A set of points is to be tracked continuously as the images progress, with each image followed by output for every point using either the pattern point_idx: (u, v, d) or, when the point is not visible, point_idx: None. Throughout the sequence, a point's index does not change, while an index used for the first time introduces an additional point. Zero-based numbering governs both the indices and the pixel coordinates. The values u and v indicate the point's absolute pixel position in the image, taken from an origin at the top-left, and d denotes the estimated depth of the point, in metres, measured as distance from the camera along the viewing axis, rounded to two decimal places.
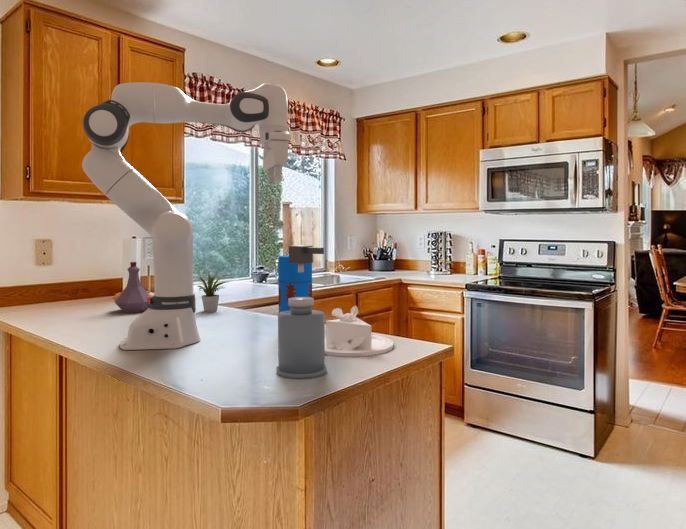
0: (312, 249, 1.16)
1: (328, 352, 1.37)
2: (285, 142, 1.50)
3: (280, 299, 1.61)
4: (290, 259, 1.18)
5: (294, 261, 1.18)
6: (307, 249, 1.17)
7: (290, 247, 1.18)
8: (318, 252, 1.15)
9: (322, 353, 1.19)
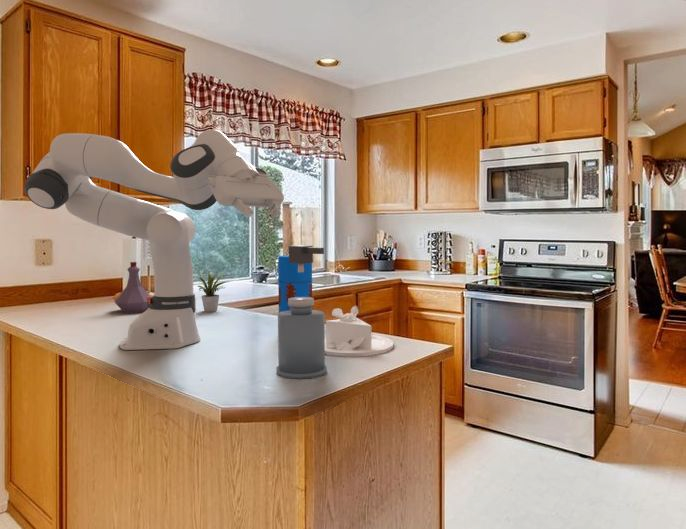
0: (312, 249, 1.16)
1: (328, 352, 1.37)
2: None
3: (280, 299, 1.61)
4: (290, 259, 1.18)
5: (294, 261, 1.18)
6: (307, 249, 1.17)
7: (290, 247, 1.18)
8: (318, 252, 1.15)
9: (322, 353, 1.19)
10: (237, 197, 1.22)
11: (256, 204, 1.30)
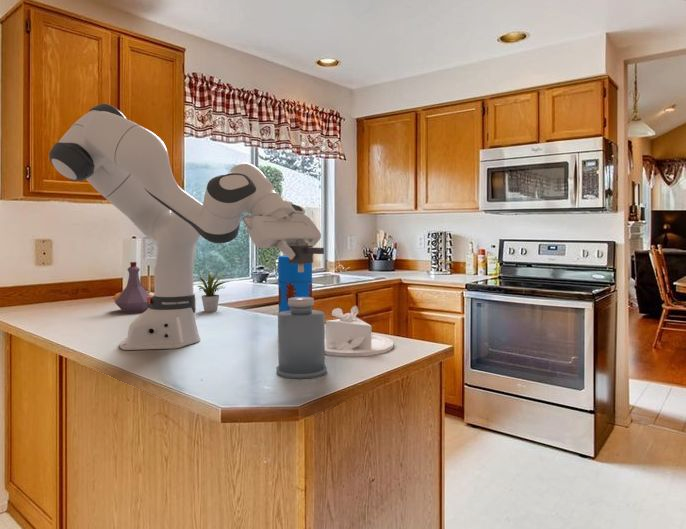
0: (312, 249, 1.16)
1: (328, 352, 1.37)
2: None
3: (280, 299, 1.61)
4: None
5: (294, 261, 1.18)
6: (307, 249, 1.17)
7: (290, 247, 1.18)
8: (318, 252, 1.15)
9: (322, 353, 1.19)
10: (275, 239, 1.15)
11: (293, 244, 1.22)
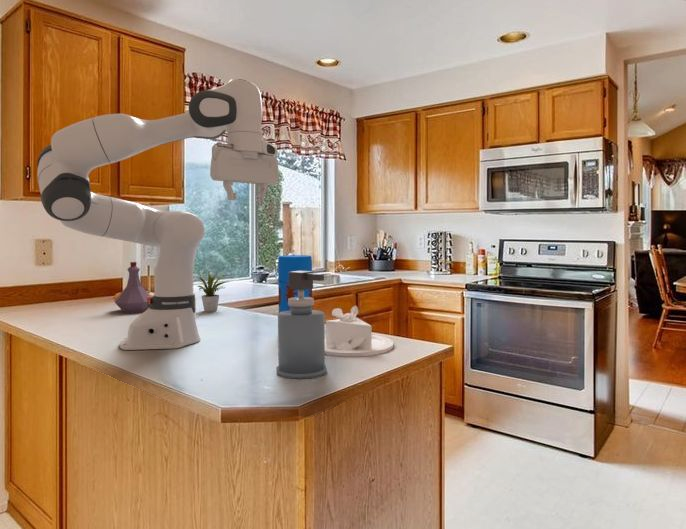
0: (312, 276, 1.16)
1: (328, 352, 1.37)
2: None
3: (280, 299, 1.61)
4: (290, 285, 1.19)
5: (294, 287, 1.18)
6: (308, 275, 1.17)
7: (290, 273, 1.19)
8: (318, 279, 1.15)
9: (322, 353, 1.19)
10: (229, 180, 1.25)
11: (247, 181, 1.32)
